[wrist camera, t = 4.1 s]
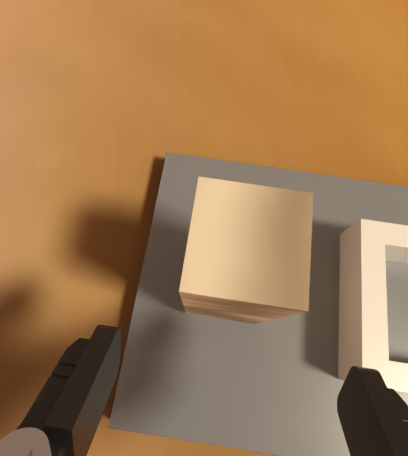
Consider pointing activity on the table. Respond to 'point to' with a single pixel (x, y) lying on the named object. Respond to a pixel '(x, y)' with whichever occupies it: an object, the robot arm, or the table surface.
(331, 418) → the jig board
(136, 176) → the table surface
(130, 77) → the table surface
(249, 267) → the block
